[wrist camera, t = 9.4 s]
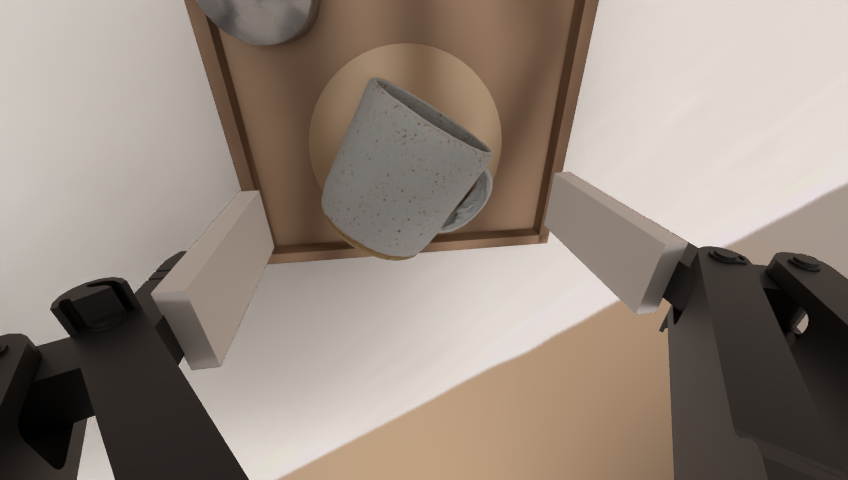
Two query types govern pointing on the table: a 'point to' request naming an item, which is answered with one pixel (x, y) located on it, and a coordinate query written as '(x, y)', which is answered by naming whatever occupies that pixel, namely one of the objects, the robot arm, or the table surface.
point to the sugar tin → (263, 19)
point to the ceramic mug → (403, 175)
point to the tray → (420, 75)
